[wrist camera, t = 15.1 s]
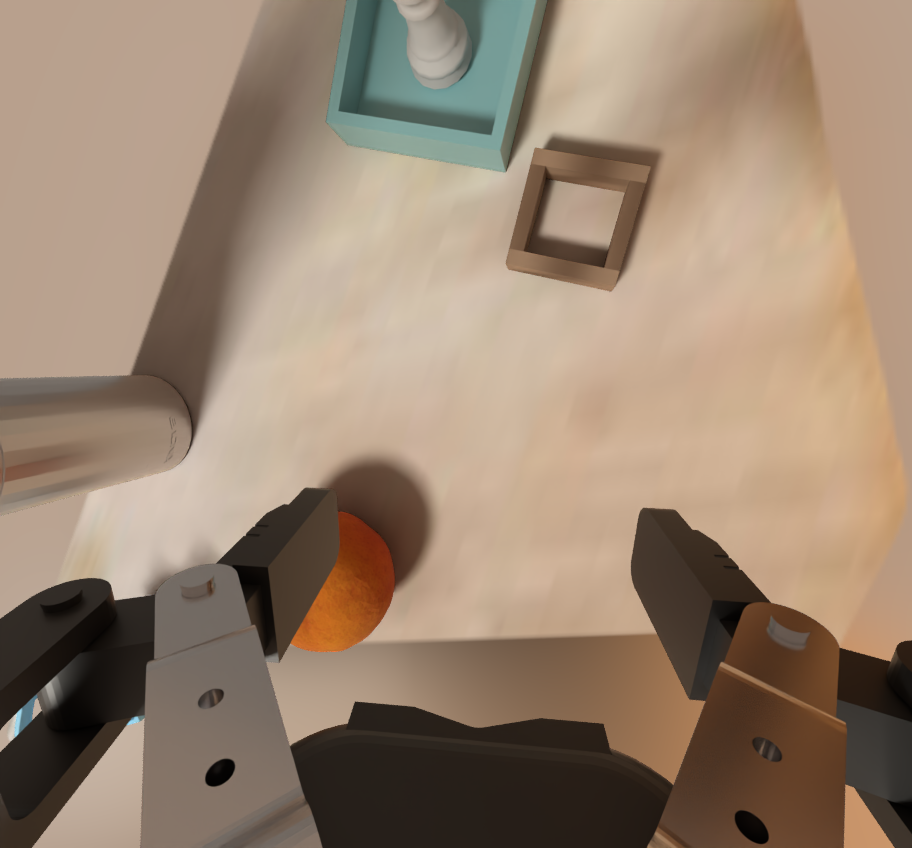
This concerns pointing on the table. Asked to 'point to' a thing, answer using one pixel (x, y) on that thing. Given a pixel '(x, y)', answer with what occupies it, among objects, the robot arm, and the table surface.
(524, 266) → the socket collar
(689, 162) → the table surface
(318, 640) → the fruit
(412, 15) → the rook chess piece
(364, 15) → the tray
